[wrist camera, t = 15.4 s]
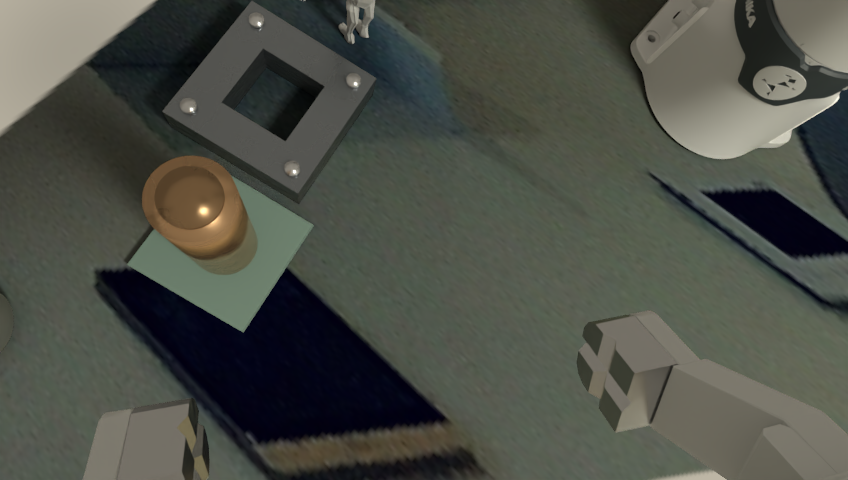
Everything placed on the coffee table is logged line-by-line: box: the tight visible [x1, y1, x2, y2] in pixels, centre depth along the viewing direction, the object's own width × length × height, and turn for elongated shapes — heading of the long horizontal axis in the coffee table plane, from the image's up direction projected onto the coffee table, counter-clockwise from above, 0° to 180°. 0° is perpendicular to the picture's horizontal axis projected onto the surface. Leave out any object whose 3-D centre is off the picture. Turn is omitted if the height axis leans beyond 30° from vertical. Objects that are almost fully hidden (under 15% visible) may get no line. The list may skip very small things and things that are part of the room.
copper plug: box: [142, 156, 258, 275], centre depth 37 cm, size 5×5×13 cm
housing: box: [162, 1, 376, 204], centre depth 45 cm, size 12×12×3 cm
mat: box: [127, 176, 313, 332], centre depth 43 cm, size 10×10×1 cm
